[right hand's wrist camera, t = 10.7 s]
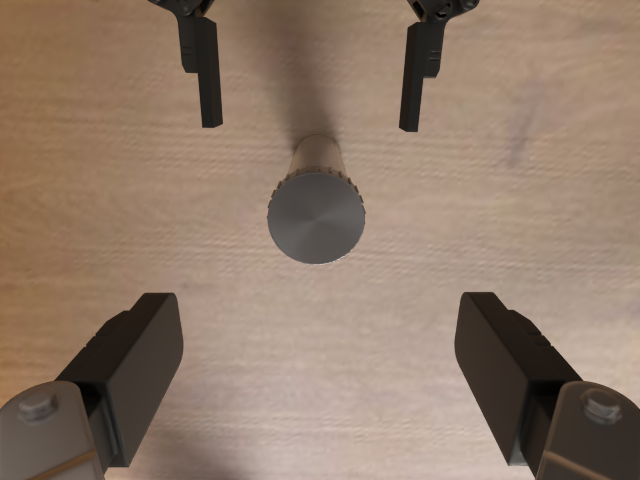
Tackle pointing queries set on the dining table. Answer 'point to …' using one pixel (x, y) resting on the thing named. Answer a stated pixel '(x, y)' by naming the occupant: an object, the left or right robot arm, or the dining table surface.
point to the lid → (316, 215)
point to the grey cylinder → (317, 154)
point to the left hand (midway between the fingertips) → (310, 128)
